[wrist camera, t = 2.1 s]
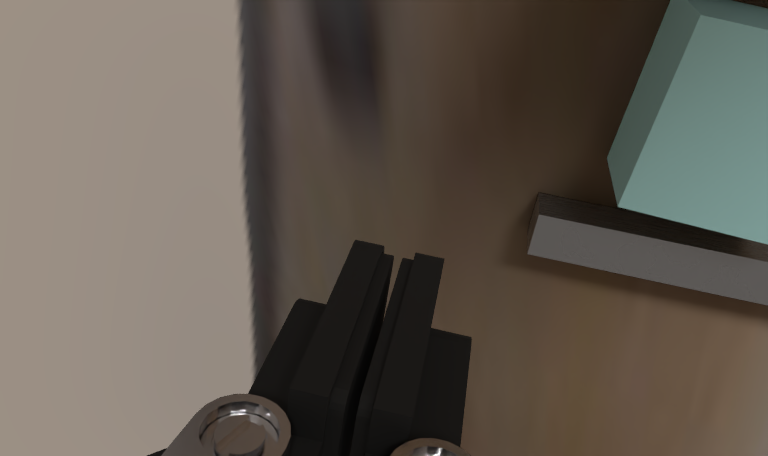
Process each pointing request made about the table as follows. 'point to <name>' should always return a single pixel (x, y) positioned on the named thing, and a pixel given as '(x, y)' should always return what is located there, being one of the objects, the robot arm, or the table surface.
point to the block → (700, 122)
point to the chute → (648, 248)
